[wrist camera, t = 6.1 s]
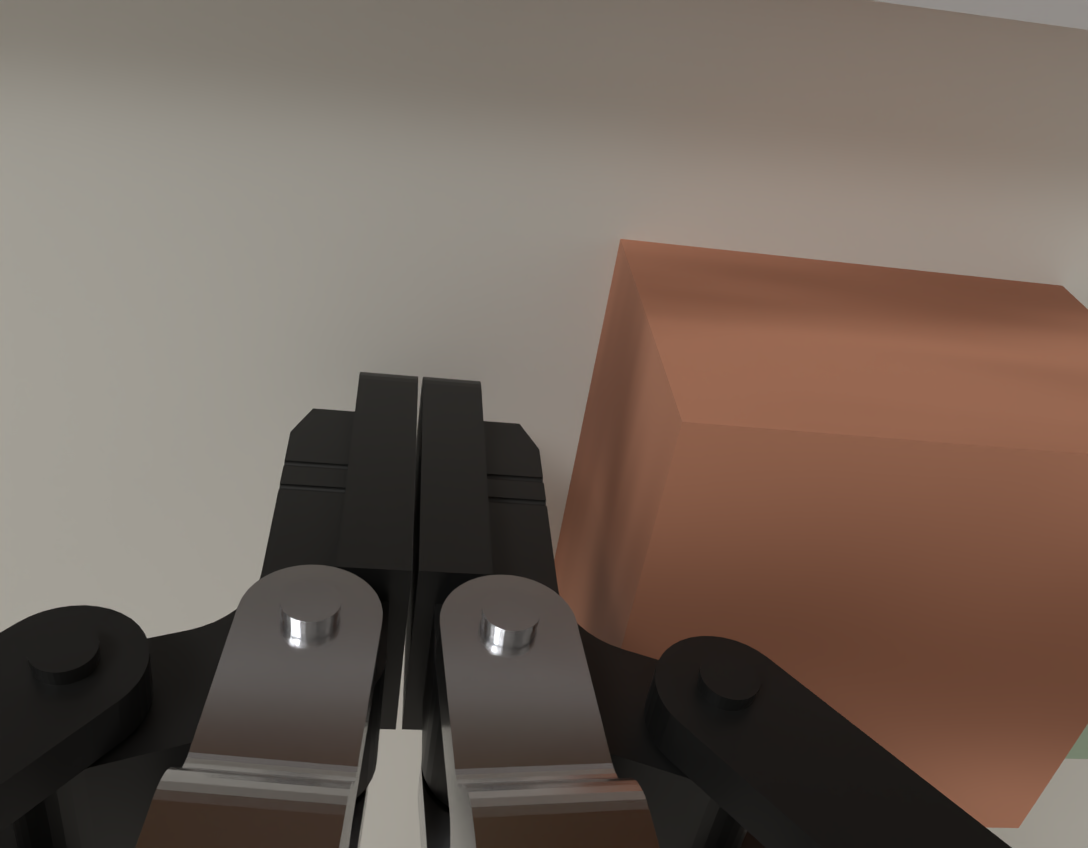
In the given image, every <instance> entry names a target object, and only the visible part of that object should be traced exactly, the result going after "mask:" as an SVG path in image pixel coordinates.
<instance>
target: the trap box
mask: <svg viewBox="0 0 1088 848" xmlns="http://www.w3.org/2000/svg"><path fill="white" fill-rule="evenodd" d="M620 239H627V240H637V241H646V242H655V243H665V244H674V245H684V246H693V247H703V248H712V249H721V250H731V251H740V252H750V253H759V254H768V255H778V256H787V257H797V258H806V259H816V260H825V261H834V262H844V263H853V264H863V265H872V266H882V267H891V268H900V269H910V270H919V271H929V272H938V273H948V274H957V275H966V276H976V277H985V278H995V279H1004V280H1014V281H1023V282H1032V283H1042V284H1051V285H1061V286H1063V287H1064V288H1065V289H1066V290H1068V291H1069V292H1070V293H1071V294H1072V295H1073V296H1074V297H1075V298H1076V299H1077V300H1078V301H1079V302H1080V303H1082V304H1083V305H1084V306H1085V307H1086V308H1087V309H1088V0H0V632H2V631H4V630H5V629H7V628H9V627H10V626H12V625H14V624H16V623H17V622H19V621H21V620H23V619H25V618H27V617H29V616H32V615H34V614H37V613H40V612H42V611H46V610H50V609H54V608H58V607H65V606H76V605H89V606H99V607H104V608H109V609H112V610H115V611H117V612H120V613H122V614H124V615H126V616H128V617H129V618H131V619H132V620H133V621H135V622H136V623H137V624H138V625H139V626H140V627H141V629H142V630H143V631H144V633H145V635H146V637H147V638H151V637H156V636H161V635H166V634H171V633H176V632H181V631H186V630H190V629H194V628H198V627H202V626H204V625H207V624H210V623H213V622H215V621H217V620H219V619H221V618H223V617H225V616H227V615H228V614H230V613H231V612H233V611H234V610H236V609H237V607H238V605H239V602H240V600H241V598H242V597H243V595H244V594H245V593H246V591H247V590H248V589H249V588H250V587H251V586H252V585H253V584H254V583H255V582H257V581H258V580H259V579H260V576H261V572H262V567H263V562H264V557H265V553H266V548H267V543H268V538H269V533H270V528H271V523H272V519H273V514H274V509H275V504H276V499H277V494H278V489H279V487H280V480H281V475H282V470H283V466H284V461H285V455H286V451H287V446H288V441H289V436H290V432H291V431H292V430H293V429H294V428H295V427H296V425H297V424H298V423H299V422H300V421H301V420H302V419H303V418H304V417H305V416H306V415H307V414H308V413H309V412H310V411H311V410H312V409H313V408H315V409H328V410H341V411H355V407H356V398H357V390H358V382H359V374H360V372H370V373H382V374H395V375H407V376H418V402H417V427H418V417H419V406H420V396H421V387H422V379H423V377H434V378H447V379H459V380H471V381H480V382H481V389H482V405H483V421H490V422H504V423H517V424H520V425H521V426H522V428H523V429H524V430H525V431H526V433H527V434H528V435H529V437H530V438H531V439H532V441H533V442H534V443H535V444H536V446H537V447H538V448H539V451H540V458H541V465H542V473H543V483H544V488H545V495H546V506H547V510H548V517H549V525H550V532H551V540H552V547H553V555H554V559H555V554H556V549H557V544H558V540H559V535H560V530H561V525H562V520H563V515H564V510H565V506H566V501H567V496H568V491H569V486H570V481H571V476H572V472H573V467H574V462H575V457H576V452H577V447H578V442H579V437H580V433H581V428H582V423H583V418H584V413H585V408H586V403H587V399H588V394H589V389H590V384H591V379H592V374H593V369H594V365H595V360H596V355H597V350H598V345H599V340H600V335H601V330H602V326H603V321H604V316H605V311H606V306H607V301H608V296H609V292H610V287H611V282H612V277H613V272H614V267H615V262H616V258H617V253H618V248H619V243H620ZM416 438H417V434H416ZM404 657H405V645H404V655H403V665H402V674H401V684H400V694H399V703H398V713H397V723H396V730H393V729H380V733H379V744H378V755H377V764H376V770H375V773H374V775H373V778H372V780H371V782H370V783H369V785H368V796H367V803H366V810H365V816H364V823H363V829H362V836H361V842H360V848H421V842H420V827H419V812H418V784H419V776H420V768H421V760H422V730H406V729H402V711H403V684H404ZM987 829H989V830H990V831H991V832H992V833H994V834H995V835H996V836H997V837H999V838H1000V839H1001V840H1003V841H1004V842H1005V843H1006V844H1008V845H1009V846H1010V847H1012V848H1088V724H1087V726H1086V727H1085V729H1084V730H1083V732H1082V733H1081V735H1080V736H1079V738H1078V739H1077V741H1076V742H1075V744H1074V745H1073V747H1072V748H1071V750H1070V751H1069V753H1068V754H1067V756H1066V757H1065V759H1064V760H1063V762H1062V763H1061V765H1060V766H1059V768H1058V770H1057V771H1056V773H1055V774H1054V776H1053V777H1052V779H1051V780H1050V782H1049V783H1048V785H1047V786H1046V788H1045V789H1044V791H1043V792H1042V794H1041V795H1040V797H1039V798H1038V800H1037V801H1036V803H1035V804H1034V806H1033V807H1032V809H1031V810H1030V812H1029V813H1028V815H1027V816H1026V818H1025V819H1024V821H1023V822H1022V824H1021V825H1020V827H1019V828H987Z"/></svg>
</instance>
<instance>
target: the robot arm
mask: <svg viewBox="0 0 1088 848" xmlns="http://www.w3.org/2000/svg"><path fill="white" fill-rule="evenodd" d="M417 402H418V376H407V375H395V374H382V373H370V372H360V374H359V382H358V390H357V398H356V407H355V411H341V410H328V409H315V408H313V409H312V410H311V411H310V412H309V413H308V414H307V415H306V416H305V417H304V418H303V419H302V420H301V421H300V422H299V423H298V424H297V425H296V427H295V428H294V429H293V430H292V431H291V432H290V436H289V441H288V446H287V451H286V455H285V461H284V466H283V470H282V475H281V480H280V487H279V489H278V494H277V499H276V504H275V509H274V514H273V519H272V523H271V528H270V533H269V538H268V543H267V548H266V553H265V557H264V562H263V567H262V572H261V576H260V579H259V580H258V581H257V582H255V583H254V584H253V585H252V586H251V587H250V588H249V589H248V590H247V591H246V593H245V594H244V595H243V597H242V598H241V600H240V602H239V605H238V607H237V609H236V610H234V611H233V612H231V613H230V614H228V615H227V616H225V617H223V618H221V619H219V620H217V621H215V622H213V623H210V624H207V625H204V626H202V627H198V628H194V629H190V630H186V631H181V632H176V633H171V634H166V635H161V636H156V637H151V638H147V637H146V635H145V633H144V631H143V630H142V629H141V627H140V626H139V625H138V624H137V623H136V622H135V621H133V620H132V619H131V618H129V617H128V616H126V615H124V614H122V613H120V612H117V611H115V610H112V609H109V608H104V607H99V606H89V605H76V606H65V607H58V608H54V609H50V610H46V611H42V612H40V613H37V614H34V615H32V616H29V617H27V618H25V619H23V620H21V621H19V622H17V623H16V624H14V625H12V626H10V627H9V628H7V629H5V630H4V631H2V632H0V848H360V842H361V836H362V829H363V823H364V816H365V810H366V803H367V796H368V785H369V783H370V782H371V780H372V778H373V775H374V773H375V770H376V764H377V755H378V744H379V733H380V729H393V730H396V723H397V713H398V703H399V694H400V684H401V674H402V665H403V655H404V645H405V657H404V684H403V711H402V729H406V730H422V760H421V768H420V776H419V784H418V812H419V827H420V842H421V848H1012V847H1010V846H1009V845H1008V844H1006V843H1005V842H1004V841H1003V840H1001V839H1000V838H999V837H997V836H996V835H995V834H994V833H992V832H991V831H990V830H989V829H987V828H986V827H985V826H983V825H982V824H981V823H980V822H978V821H977V820H976V819H974V818H973V817H972V816H971V815H969V814H968V813H967V812H965V811H964V810H963V809H962V808H960V807H959V806H958V805H956V804H955V803H954V802H953V801H951V800H950V799H949V798H947V797H946V796H945V795H944V794H942V793H941V792H940V791H938V790H937V789H936V788H935V787H933V786H932V785H931V784H929V783H928V782H927V781H926V780H924V779H923V778H922V777H920V776H919V775H918V774H917V773H915V772H914V771H913V770H911V769H910V768H909V767H908V766H906V765H905V764H904V763H903V762H901V761H900V760H899V759H897V758H896V757H895V756H894V755H892V754H891V753H890V752H888V751H887V750H886V749H885V748H883V747H882V746H881V745H879V744H878V743H877V742H876V741H874V740H873V739H872V738H870V737H869V736H868V735H867V734H865V733H864V732H863V731H861V730H860V729H859V728H858V727H856V726H855V725H854V724H852V723H851V722H850V721H849V720H847V719H846V718H845V717H843V716H842V715H841V714H840V713H838V712H837V711H836V710H834V709H833V708H832V707H831V706H829V705H828V704H827V703H825V702H824V701H823V700H822V699H820V698H819V697H818V696H817V695H815V694H814V693H813V692H811V691H810V690H809V689H808V688H806V687H805V686H804V685H802V684H801V683H800V682H799V681H797V680H796V679H795V678H793V677H792V676H791V675H790V674H788V673H787V672H786V671H784V670H783V669H782V668H781V667H779V666H778V665H777V664H775V663H774V662H773V661H772V660H770V659H769V658H768V657H766V656H765V655H763V654H762V653H760V652H759V651H757V650H756V649H754V648H752V647H750V646H748V645H746V644H743V643H741V642H738V641H735V640H731V639H728V638H724V637H716V636H697V637H690V638H687V639H684V640H681V641H679V642H677V643H675V644H673V645H672V646H670V647H669V648H668V649H667V650H665V652H664V653H663V654H662V656H661V657H660V659H659V660H657V659H654V658H651V657H647V656H644V655H641V654H637V653H634V652H631V651H628V650H624V649H621V648H618V647H616V646H613V645H610V644H608V643H606V642H604V641H602V640H600V639H598V638H596V637H595V636H593V635H592V634H590V633H588V632H587V631H586V630H585V629H583V628H582V627H581V626H580V625H579V624H577V621H576V618H575V616H574V613H573V611H572V610H571V608H570V607H569V605H568V604H567V603H566V602H565V600H564V599H563V598H562V597H561V596H560V595H559V591H558V584H557V577H556V570H555V562H554V555H553V547H552V540H551V532H550V525H549V517H548V510H547V506H546V495H545V488H544V483H543V473H542V465H541V458H540V451H539V448H538V447H537V446H536V444H535V443H534V442H533V441H532V439H531V438H530V437H529V435H528V434H527V433H526V431H525V430H524V429H523V428H522V426H521V425H520V424H517V423H504V422H490V421H483V405H482V389H481V382H480V381H471V380H459V379H447V378H434V377H423V379H422V387H421V396H420V406H419V417H418V427H417ZM416 434H417V438H416Z"/></svg>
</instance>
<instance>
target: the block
mask: <svg viewBox="0 0 1088 848" xmlns="http://www.w3.org/2000/svg"><path fill="white" fill-rule="evenodd" d="M554 562H555V570H556V577H557V584H558V591H559V595H560V596H561V597H562V598H563V599H564V600H565V602H566V603H567V604H568V605H569V607H570V608H571V610H572V611H573V613H574V616H575V618H576V621H577V624H579V625H580V626H581V627H582V628H583V629H585V630H586V631H587V632H588V633H590V634H592V635H593V636H595V637H596V638H598V639H600V640H602V641H604V642H606V643H608V644H610V645H613V646H616V647H618V648H621V649H624V650H628V651H631V652H634V653H637V654H641V655H644V656H647V657H651V658H654V659H657V660H659V659H660V657H661V656H662V654H663V653H664V652H665V650H667V649H668V648H669V647H670V646H672V645H673V644H675V643H677V642H679V641H681V640H684V639H687V638H690V637H697V636H716V637H724V638H728V639H731V640H735V641H738V642H741V643H743V644H746V645H748V646H750V647H752V648H754V649H756V650H757V651H759V652H760V653H762V654H763V655H765V656H766V657H768V658H769V659H770V660H772V661H773V662H774V663H775V664H777V665H778V666H779V667H781V668H782V669H783V670H784V671H786V672H787V673H788V674H790V675H791V676H792V677H793V678H795V679H796V680H797V681H799V682H800V683H801V684H802V685H804V686H805V687H806V688H808V689H809V690H810V691H811V692H813V693H814V694H815V695H817V696H818V697H819V698H820V699H822V700H823V701H824V702H825V703H827V704H828V705H829V706H831V707H832V708H833V709H834V710H836V711H837V712H838V713H840V714H841V715H842V716H843V717H845V718H846V719H847V720H849V721H850V722H851V723H852V724H854V725H855V726H856V727H858V728H859V729H860V730H861V731H863V732H864V733H865V734H867V735H868V736H869V737H870V738H872V739H873V740H874V741H876V742H877V743H878V744H879V745H881V746H882V747H883V748H885V749H886V750H887V751H888V752H890V753H891V754H892V755H894V756H895V757H896V758H897V759H899V760H900V761H901V762H903V763H904V764H905V765H906V766H908V767H909V768H910V769H911V770H913V771H914V772H915V773H917V774H918V775H919V776H920V777H922V778H923V779H924V780H926V781H927V782H928V783H929V784H931V785H932V786H933V787H935V788H936V789H937V790H938V791H940V792H941V793H942V794H944V795H945V796H946V797H947V798H949V799H950V800H951V801H953V802H954V803H955V804H956V805H958V806H959V807H960V808H962V809H963V810H964V811H965V812H967V813H968V814H969V815H971V816H972V817H973V818H974V819H976V820H977V821H978V822H980V823H981V824H982V825H983V826H985V827H986V828H1019V827H1020V825H1021V824H1022V822H1023V821H1024V819H1025V818H1026V816H1027V815H1028V813H1029V812H1030V810H1031V809H1032V807H1033V806H1034V804H1035V803H1036V801H1037V800H1038V798H1039V797H1040V795H1041V794H1042V792H1043V791H1044V789H1045V788H1046V786H1047V785H1048V783H1049V782H1050V780H1051V779H1052V777H1053V776H1054V774H1055V773H1056V771H1057V770H1058V768H1059V766H1060V765H1061V763H1062V762H1063V760H1064V759H1065V757H1066V756H1067V754H1068V753H1069V751H1070V750H1071V748H1072V747H1073V745H1074V744H1075V742H1076V741H1077V739H1078V738H1079V736H1080V735H1081V733H1082V732H1083V730H1084V729H1085V727H1086V726H1087V724H1088V309H1087V308H1086V307H1085V306H1084V305H1083V304H1082V303H1080V302H1079V301H1078V300H1077V299H1076V298H1075V297H1074V296H1073V295H1072V294H1071V293H1070V292H1069V291H1068V290H1066V289H1065V288H1064V287H1063V286H1061V285H1051V284H1042V283H1032V282H1023V281H1014V280H1004V279H995V278H985V277H976V276H966V275H957V274H948V273H938V272H929V271H919V270H910V269H900V268H891V267H882V266H872V265H863V264H853V263H844V262H834V261H825V260H816V259H806V258H797V257H787V256H778V255H768V254H759V253H750V252H740V251H731V250H721V249H712V248H703V247H693V246H684V245H674V244H665V243H655V242H646V241H637V240H627V239H620V243H619V248H618V253H617V258H616V262H615V267H614V272H613V277H612V282H611V287H610V292H609V296H608V301H607V306H606V311H605V316H604V321H603V326H602V330H601V335H600V340H599V345H598V350H597V355H596V360H595V365H594V369H593V374H592V379H591V384H590V389H589V394H588V399H587V403H586V408H585V413H584V418H583V423H582V428H581V433H580V437H579V442H578V447H577V452H576V457H575V462H574V467H573V472H572V476H571V481H570V486H569V491H568V496H567V501H566V506H565V510H564V515H563V520H562V525H561V530H560V535H559V540H558V544H557V549H556V554H555V559H554Z"/></svg>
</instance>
